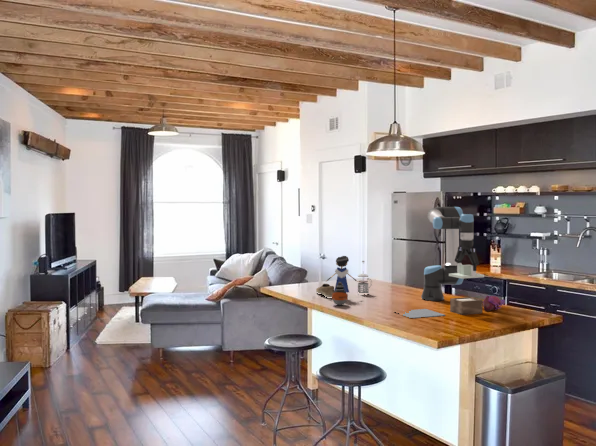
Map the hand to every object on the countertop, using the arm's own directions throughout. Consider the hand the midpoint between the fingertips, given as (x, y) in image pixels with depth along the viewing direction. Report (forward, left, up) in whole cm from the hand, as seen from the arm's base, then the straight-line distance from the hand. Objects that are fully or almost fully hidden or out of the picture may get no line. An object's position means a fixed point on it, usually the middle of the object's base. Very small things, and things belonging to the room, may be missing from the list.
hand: (466, 274), depth 311 cm
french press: (-81, -27, -23) cm, 88 cm away
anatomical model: (-1, +20, -23) cm, 31 cm away
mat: (-6, -30, -23) cm, 38 cm away
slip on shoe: (-87, -55, -23) cm, 106 cm away
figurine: (-71, -50, -23) cm, 90 cm away
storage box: (0, 0, -23) cm, 23 cm away
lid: (0, 0, -1) cm, 1 cm away
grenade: (-48, -62, -23) cm, 82 cm away
